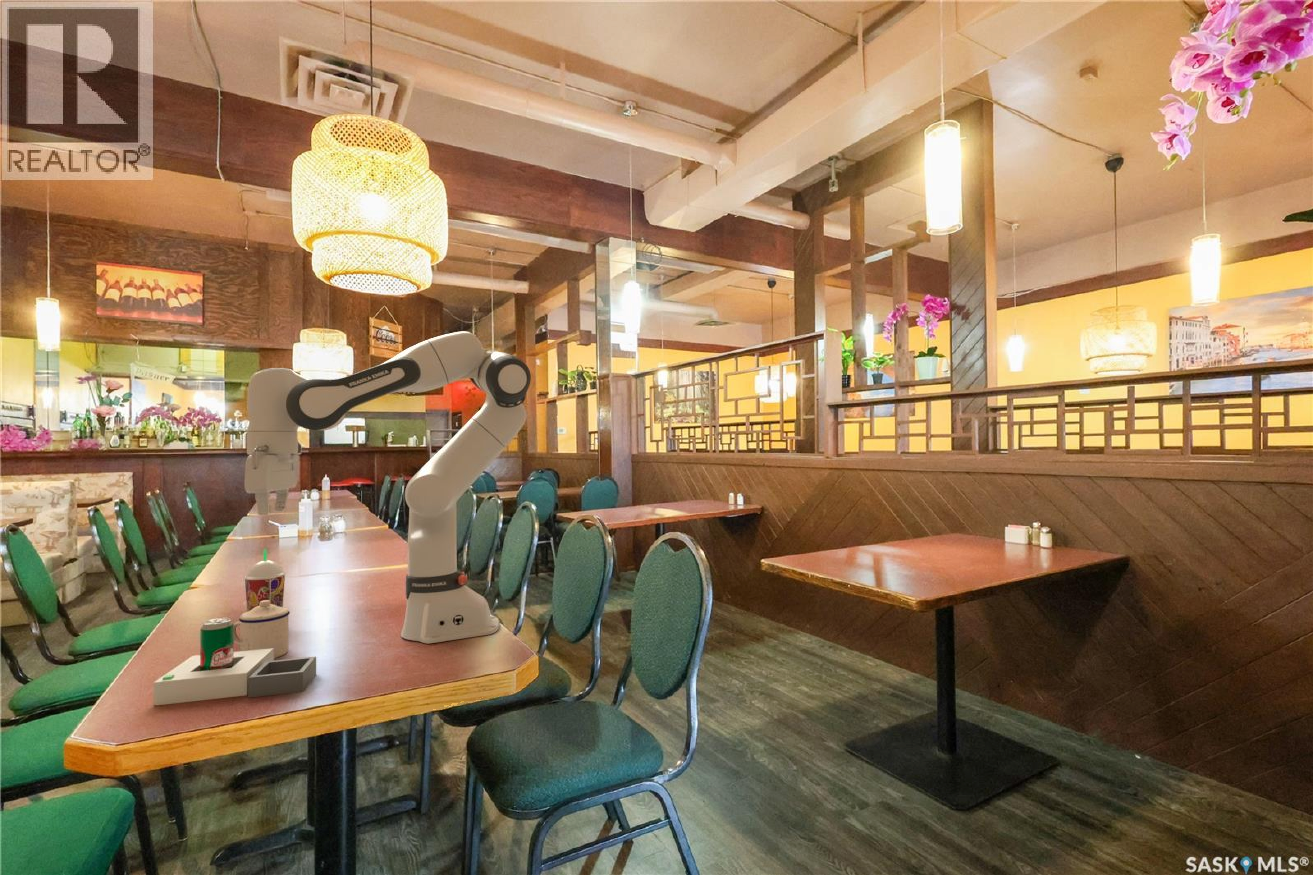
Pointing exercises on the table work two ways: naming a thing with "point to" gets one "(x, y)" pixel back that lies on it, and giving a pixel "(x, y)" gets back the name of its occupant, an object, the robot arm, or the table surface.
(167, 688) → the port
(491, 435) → the robot arm
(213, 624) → the soda can
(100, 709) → the table surface
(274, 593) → the smoothie
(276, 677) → the grey square tray
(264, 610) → the teacup with lid
